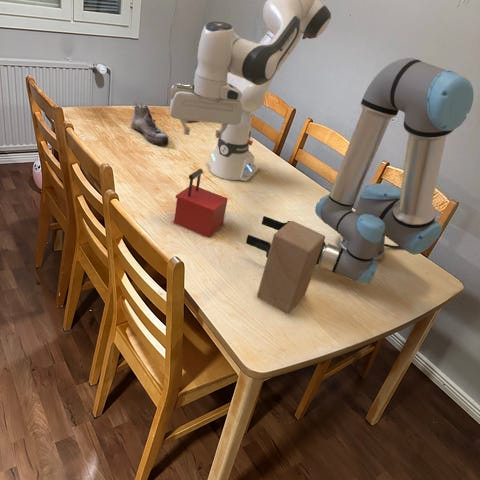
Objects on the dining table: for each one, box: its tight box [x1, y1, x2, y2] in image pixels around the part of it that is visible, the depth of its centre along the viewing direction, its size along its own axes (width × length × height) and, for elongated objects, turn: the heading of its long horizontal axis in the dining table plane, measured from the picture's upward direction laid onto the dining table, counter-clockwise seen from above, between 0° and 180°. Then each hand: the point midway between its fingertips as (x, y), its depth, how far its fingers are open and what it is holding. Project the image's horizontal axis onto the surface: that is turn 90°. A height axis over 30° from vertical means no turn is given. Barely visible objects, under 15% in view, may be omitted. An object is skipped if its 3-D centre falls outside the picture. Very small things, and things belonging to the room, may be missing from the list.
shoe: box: [130, 103, 169, 147], centre depth 193 cm, size 25×11×12 cm, turn 30°
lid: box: [175, 168, 229, 212], centre depth 135 cm, size 13×10×8 cm
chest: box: [173, 198, 228, 238], centre depth 139 cm, size 13×10×9 cm
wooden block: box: [256, 220, 326, 314], centre depth 113 cm, size 10×10×20 cm
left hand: (202, 135), depth 127 cm, fingers open, 8 cm apart
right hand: (255, 228), depth 133 cm, fingers open, 13 cm apart
